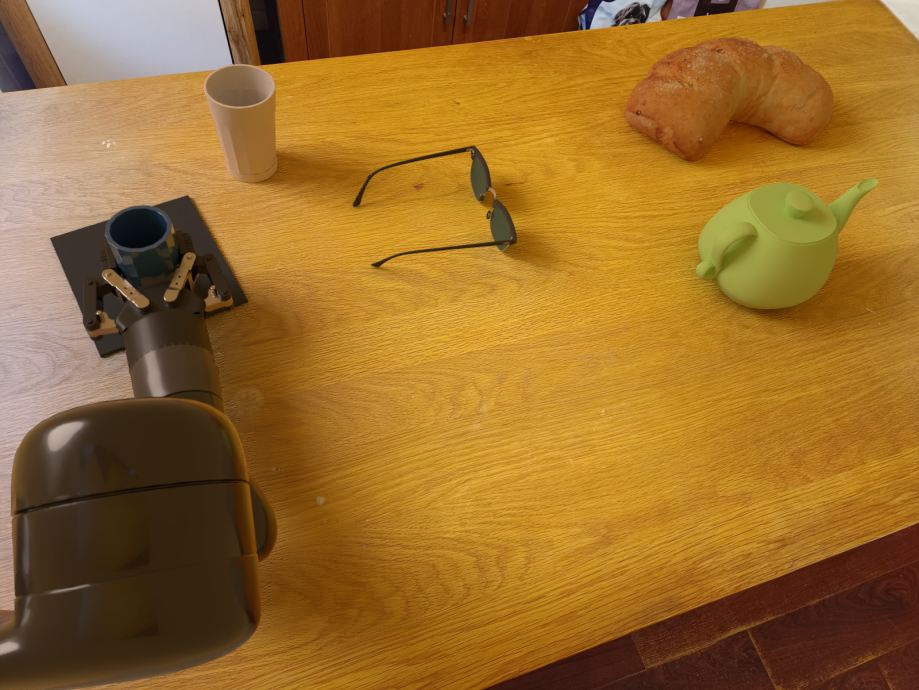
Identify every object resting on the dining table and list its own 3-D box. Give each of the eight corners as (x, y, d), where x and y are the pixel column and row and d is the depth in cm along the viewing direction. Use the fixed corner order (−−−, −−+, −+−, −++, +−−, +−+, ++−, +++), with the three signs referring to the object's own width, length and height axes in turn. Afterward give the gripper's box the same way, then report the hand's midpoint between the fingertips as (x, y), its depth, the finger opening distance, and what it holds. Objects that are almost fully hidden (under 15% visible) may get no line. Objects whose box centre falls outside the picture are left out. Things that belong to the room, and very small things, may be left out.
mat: (101, 357, 76) (99, 355, 76) (50, 240, 84) (49, 237, 84) (248, 301, 82) (247, 299, 82) (188, 197, 90) (188, 194, 90)
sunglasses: (346, 188, 94) (346, 158, 90) (472, 172, 98) (477, 143, 94) (377, 288, 85) (378, 260, 81) (513, 266, 90) (521, 238, 86)
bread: (771, 63, 121) (802, 6, 112) (839, 145, 110) (877, 89, 102) (593, 81, 112) (612, 21, 104) (648, 171, 102) (673, 112, 94)
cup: (206, 166, 93) (188, 86, 83) (251, 135, 97) (239, 55, 87) (253, 196, 91) (240, 118, 81) (297, 163, 95) (290, 84, 85)
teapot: (788, 212, 101) (840, 136, 90) (860, 294, 94) (925, 222, 83) (655, 248, 94) (693, 171, 83) (721, 340, 87) (772, 269, 76)
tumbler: (144, 327, 78) (116, 260, 69) (125, 286, 81) (96, 216, 72) (200, 306, 81) (180, 238, 72) (180, 268, 83) (159, 197, 74)
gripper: (247, 329, 68) (210, 202, 76) (78, 370, 63) (58, 230, 72) (256, 372, 74) (221, 250, 82) (103, 412, 70) (82, 279, 78)
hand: (145, 241), depth 77 cm, fingers closed on tumbler, 6 cm apart
